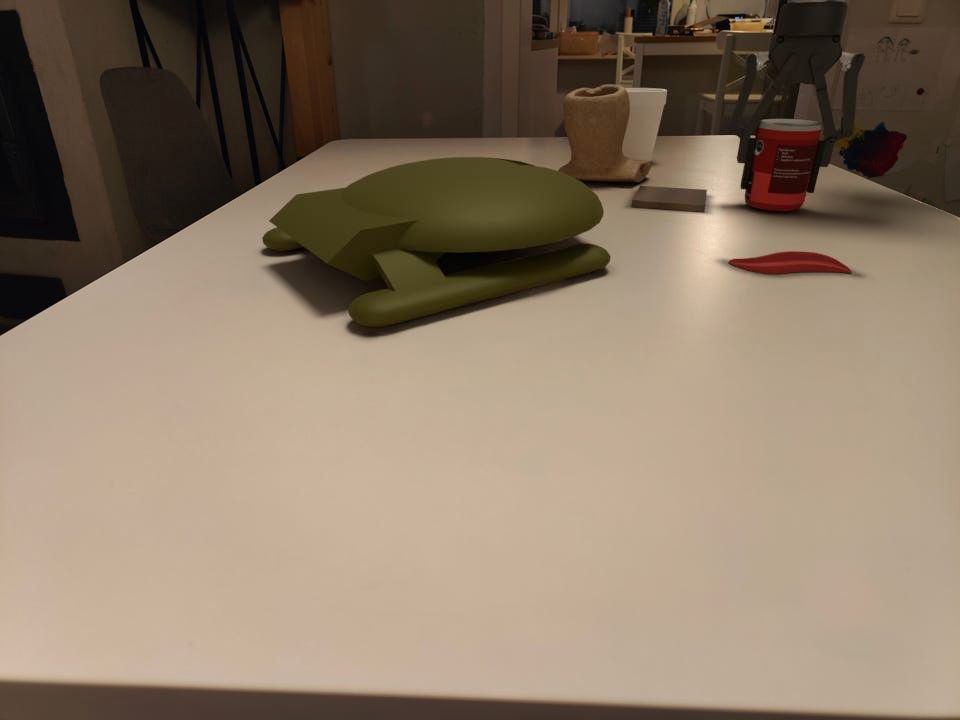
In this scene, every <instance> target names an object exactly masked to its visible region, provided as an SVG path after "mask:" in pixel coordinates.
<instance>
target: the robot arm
mask: <svg viewBox="0 0 960 720" xmlns="http://www.w3.org/2000/svg"><path fill="white" fill-rule="evenodd" d="M848 10H849V5H848V2H846V1H845V0H787V1H786V3H784V4H783V5H782V7H780V11H779V17H778V22H777V27H776V32H775V37H774V42H773V44H772V46H771V47H770V48H769V50H768V51H764V52H759V53H749V54H748V55H746V58H745V76H744V78H743V82H742V85H741V88H740V91H739V93H738V97H737V100H736V103H735V106H734V109H733V112H732V115H731V118H730V121H729V123H728V126H727V127H728V128H727V131H728V133H729V134H731V135H733V136H736V137H738V138H739V142H738V143H739V144H738V149H737V155H736V161H737V164H743V170H742V175H741V180H740V190H746V189H747V184H748V179H749V173H750V168H751V163H752V157H753V152H754V147H755V141H756V140H755V137H752V135H753V133H754V132H755V131H756V130H757V126H758V124H759V122H760V121H761V120H763V118H764V117H765V114H766V113H767V111H768V110H769V108H770V106H771V104H772V103H773V101H774V100H775V98H776V97H777V95H778V93H779V92H780V91H781V89H782V88H783V86H784V85H794V84H798V83H800V84H803V85H812V89H813V92H814V97H815V102H816V106H817V112H818V115H819V116H818V117H819V121H820V123H821V124H822V126H821V132H822V135H823V139H819V142H818V147H817V151H816V155H815V159H814V163H813V168H812V172H811V176H810V180H809V184H808V189H807V193H806V194H814V193H815V189H816V185H817V180H818V176H819V173H820V168H828V166H829V165H830V163H831V160H832V159H831V158H832V155H833V151H834V147H835V144H836V143H837V142H838V141H840V140H843V139H848V138H851V137H852V136H853V135H854V131H855V119H856V107H857V105H856V104H857V94H858V82H859V75H860V74H859V73H860V71H861V69H862V67H863V65H864V63H865V60H866V55H865V54H863V53H861V52H856V53H854V52H850V51H849V52H848V51H844V50H843V47H842V37H843V36H842V35H843V31H844V28H845V23H846V19H847V14H848ZM767 61H769V63H770V65H771V66H772V69H773V71H774V72H775V76H774V77H773V79H772V80H771V82H770V84H769V86H768V87H767V89H766V90H765V92H764V94H763V96H762V97H761V98H760V100H759V102H758V103H757V105H756V106H755V109H754V110H753V112H752V113H751V115H750V117H749V119H748V120H747V121H746V123H745V125H744V126H743V125H740V124H741V122H742V118H743V116H744V112H745V110H746V107H747V104H748V101H749V98H750V95H751V92H752V89H753V86H754V84H755V80H756V77H757V72H760V71H761V70H762V69H763V68H764V65H765V63H766V62H767ZM839 61H840V62H841V65H840V66H841V67H840V68H841V70H842V71H843V72H844V74H843V81H842V83H843V85H842V97H841V98H842V99H841V109H840V111H841V112H840V124H839V125H840V126H839V127H838V128H836V127H835V122H834V117H833V112H832V107H831V101H830V98H829V97H830V96H829V92H828V86H827V85H828V84H827V80H826V74H827V73H828V72H829V71H830V70H831V69H832V68H833V67H834V66H835V65H836V64H837V62H839Z"/></svg>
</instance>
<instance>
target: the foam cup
mask: <svg viewBox="0 0 960 720" xmlns="http://www.w3.org/2000/svg"><path fill="white" fill-rule="evenodd" d="M624 88H625V89H626V91H627V93H628V96H629V101H630V115H629V120H628V124H627V128H626V132H625V136H624V140H623V145H622V152H623V155H624V156H625V157H627V158H630V159H637V160H650V161H651V160H652V158H653V153H654V149H655V145H656V140H657V137H658V133H659V129H660V124H661V121H662V116H663V111H664V109H665V105H666V104H667V95H668V89H665V88H657V87H656V88H655V87H654V88H653V87H624Z"/></svg>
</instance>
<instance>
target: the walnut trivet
mask: <svg viewBox="0 0 960 720" xmlns="http://www.w3.org/2000/svg"><path fill="white" fill-rule="evenodd" d="M707 194H708V189H705V188H704V189H701V188H687V187H684V188H683V187H669V186H655V185H654V186H653V185H639V187H638V189H637V190H636V193H635V194H634V196H633V198H632V200H631V208H642V209H657V210H670V211H683V212H684V211H685V212H699V213H700V212H701V213H704V212H705V211H706V209H705V208H706V202H707Z"/></svg>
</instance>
